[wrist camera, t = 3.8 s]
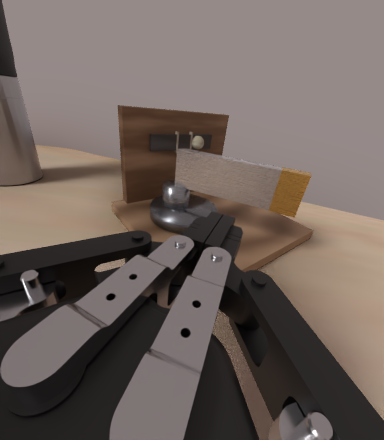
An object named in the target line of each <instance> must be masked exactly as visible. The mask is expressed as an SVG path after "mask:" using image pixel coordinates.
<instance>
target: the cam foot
mask: <svg viewBox="0 0 384 440" xmlns="http://www.w3.org/2000/svg"><path fill="white" fill-rule="evenodd" d="M310 178H311V174H310V173H309V172H303V171H299V170H294V169H289V168H283V167H282V168H281V167H276V166H270V165H266V164H261V163H256V162H251V161H245V160H241V159H235V158H230V157H226V156H221V155H216V154H211V153H206V152H201V151H196V150H191V149H186V148H179V149H177V158H176V173H175V180H166V181H164V182H163V191H162V195H161V196H158V197H156V198H155V199H153V200H152V202H151V204H150V218H151V220H152V222H153V223H154V224H155V225H157V226H158V227H160V228H162V229H164V230H167V231H170V232H174V233H179V234H182V233H183V232H184V231H185V230H186V229H187V228H188V227H189V225H190V224H191V223H192V222H193V221H194V220H195V219H196V218H198V217H201V216H203V217H207V216H208V215H209V214H210V213H211V211H214V212H218V211H217V207H216V206H215V205H214V204H213V203H212V202H211V201H209V200H207V199H205V198H203V197H200V196H197V195H193V194H190V190H193V191H197V192H201V193H204V194H208V195H212V196H216V197H220V198H224V199H227V200H231V201H235V202H239V203H243V204H246V205H250V206H254V207H258V208H262V209H266V210H269V211H271V212H275V213H279V214H283V215H286V216H290V217H295V215H296V212H297V210H298V207H299V205H300V202H301V200H302V198H303V195H304V192H305V190H306V188H307V185H308V183H309V180H310Z"/></svg>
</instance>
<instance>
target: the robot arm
mask: <svg viewBox="0 0 384 440" xmlns="http://www.w3.org/2000/svg"><path fill="white" fill-rule="evenodd" d="M42 176H43V174H42V170H41V166H40V163H39V159H38V154H37V150H36V146H35V143H34V139H33V135H32V131H31V127H30V123H29V119H28V116H27V112H26V108H25V104H24V100H23V97H22V93H21V89H20V85H19V81H18V78H17V73H16V69H15V64H14V57H13V52H12V47H11V43H10V39H9V34H8V30H7V25H6V20H5V15H4V10H3V5H2V0H0V185H18V184H25V183H29V182H33V181H36V180H38V179H40V178H41V177H42ZM234 223H235V217H232V216H228V215H223V214H221V213H217V212H214V211H211V213H210V214H209V215H208V216H207V217H203V216H201V217H198V218H196V219H195V220H194V221H193V222H192V223H191V224H190V225H189V227H188V228H187V229H186V230H185V231H184V232H183V233H182V234H181V235H176V236H172V237H170V238H169V239H167V240H166V241H165V242H155V241H152V236H151V235H150V234H149V233H148V232H146V231H141V230H136V231H130V232H124V233H119V234H113V235H108V236H103V237H97V238H92V239H86V240H81V241H75V242H70V243H64V244H59V245H53V246H48V247H42V248H37V249H31V250H26V251H20V252H15V253H9V254H4V255H0V440H259V437H258V434H257V432H256V429H255V426H254V423H253V420H252V418H251V415H250V412H249V409H248V406H247V404H246V401H245V398H244V395H243V393H242V390H241V387H240V384H239V381H238V378H237V376H236V373H235V370H234V367H233V364H232V362H231V359H230V357H229V355H228V353H227V351H226V349H225V348H224V346H223V345H222V343H221V342H220V341H219V340H218V339H217V338H216V337H215V336H214V335H213V334H212V332H213V328H214V324H215V320H216V317H217V313H218V309H220V310H221V311H222V312H223V313H225V314H226V315H227V316H228V317H230V318H229V322H230V325H231V328H232V330H233V332H234V334H235V337H236V339H237V341H238V343H239V345H240V348H241V350H242V352H243V354H244V357H245V359H246V361H247V363H248V365H249V368H250V370H251V372H252V374H253V377H254V379H255V381H256V383H257V386H258V388H259V390H260V392H261V394H262V397H263V399H264V401H265V403H266V406H267V408H268V410H269V412H270V414H271V417H272V419H273V421H274V422H273V424H272V425H271V427H270V429H269V433H268V440H384V420H383V419H382V418H381V417H380V415H379V414H378V413H377V411H376V410H375V409H374V408H373V406H372V405H371V404H370V403H369V401H368V400H367V399H366V397H365V396H364V395H363V394H362V392H361V391H360V390H359V389H358V387H357V386H356V385H355V384H354V382H353V381H352V380H351V378H350V377H349V376H348V375H347V373H346V372H345V371H344V370H343V368H342V367H341V366H340V364H339V363H338V362H337V361H336V359H335V358H334V357H333V356H332V354H331V353H330V352H329V351H328V349H327V348H326V347H325V345H324V344H323V343H322V342H321V340H320V339H319V338H318V337H317V335H316V334H315V333H314V331H313V330H312V329H311V328H310V326H309V325H308V324H307V323H306V321H305V320H304V319H303V318H302V316H301V315H300V314H299V312H298V311H297V310H296V309H295V307H294V306H293V305H292V304H291V302H290V301H289V300H288V298H287V297H286V296H285V295H284V293H283V292H282V291H281V290H280V288H279V287H278V286H277V285H276V283H275V282H274V281H273V280H272V278H271V277H269V276H268V275H267V274H265V273H263V272H260V271H257V270H249V271H246V272H243V271H242V270H240V269H239V268H238V267H237V266H236V265H235V263H234V262H235V259H236V256H237V254H238V250H239V247H240V243H241V239H242V235H243V231H242V228H241V227H238V226H234ZM124 258H125V264H124V265H123V266H122V267H119V268H115V269H111V270H107V271H103V272H96V271H94V270H95V268H96V267H97V266H98V265H100V264H103V263H107V262H111V261H115V260H119V259H124Z"/></svg>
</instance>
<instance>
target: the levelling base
mask: <svg viewBox="0 0 384 440" xmlns="http://www.w3.org/2000/svg"><path fill="white" fill-rule="evenodd" d="M118 117H119V118H118V119H119V135H120V151H121V168H122V184H123V200H121V201H116V202H111V203H112V211H113V212H114V213H115V214H116V216H117V217H118V218H119V219H120V221H121V222H122V223H123V224H124V226H125V227H126V228H127V229H128V230H129V232H130V231H136V230H141V231H146V232H148V233H149V234H150V235H151V236H152V241H155V242H165V241H166V240H167V239H169V238H170V237H172V236H176V235H181V234H179V233H174V232H170V231H167V230H164V229H162V228H160V227H158V226H157V225H155V224H154V223H153V222H152V220H151V218H150V204H151V202H152V200H153V199H155V198H156V197H158V196H161V195H162V191H163V182H164V181H166V180H175V173H176V158H177V149H179V148H186V149H191V150H196V151H201V152H206V153H211V154H216V155H221V156H222V151H223V146H224V140H225V135H226V129H227V122H228V118H229V116H228V115H224V114H213V113H201V112H189V111H178V110H165V109H155V108H143V107H132V106H120V105H118ZM190 194H193V195H197V196H200V197H203V198H205V199H207V200H209V201H211V202H212V203H213V204H214V205H215V206H216V207H217V211H218V212H217V213H221V214H223V215H228V216H232V217H235V223H234V226H238V227H241V228H242V231H243V235H242V239H241V243H240V247H239V250H238V254H237V256H236V259H235V262H234V263H235V265H236V266H237V267H238V268H239V269H240V270H242V271H243V272H246V271H249V270H257V269H258V268H260V267H262V266H264V265H265V264H267V263H269V262H270V261H272V260H274V259H275V258H277V257H279V256H281V255H282V254H284V253H286V252H287V251H289V250H291V249H293V248H294V247H296V246H298V245H299V244H301V243H303V242H305V241H306V240H308V239H310V237H311V235H312V233H313V230H311V229H309V228H307V227H305V226H303V225H301V224H299V223H297V222H295V221H293V220H291V219H289V218H287V217H285V216H283V215H281V214H279V213H275V212H271V211H269V210H266V209H262V208H258V207H254V206H250V205H246V204H243V203H239V202H235V201H231V200H227V199H224V198H220V197H216V196H212V195H208V194H204V193H201V192H197V191H193V190H190Z"/></svg>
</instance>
